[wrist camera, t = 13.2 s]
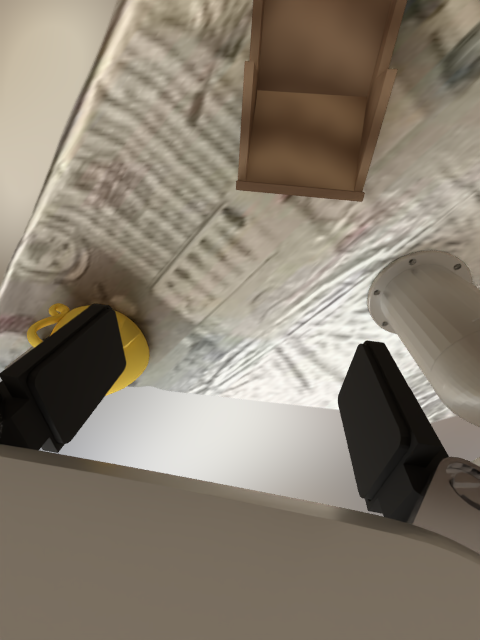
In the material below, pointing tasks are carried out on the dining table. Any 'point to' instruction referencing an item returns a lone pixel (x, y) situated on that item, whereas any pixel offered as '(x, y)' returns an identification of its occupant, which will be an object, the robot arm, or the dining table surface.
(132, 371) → the teapot
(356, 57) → the lane
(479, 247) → the dining table surface
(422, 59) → the dining table surface
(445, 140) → the dining table surface
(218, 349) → the dining table surface
